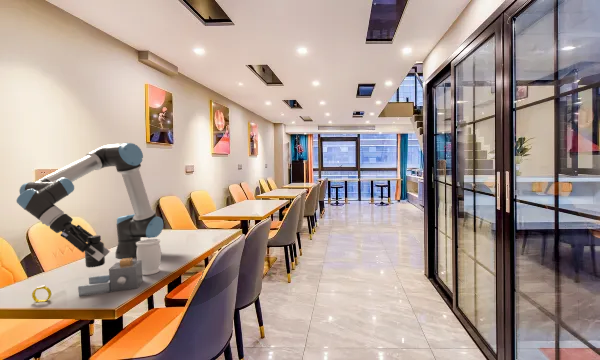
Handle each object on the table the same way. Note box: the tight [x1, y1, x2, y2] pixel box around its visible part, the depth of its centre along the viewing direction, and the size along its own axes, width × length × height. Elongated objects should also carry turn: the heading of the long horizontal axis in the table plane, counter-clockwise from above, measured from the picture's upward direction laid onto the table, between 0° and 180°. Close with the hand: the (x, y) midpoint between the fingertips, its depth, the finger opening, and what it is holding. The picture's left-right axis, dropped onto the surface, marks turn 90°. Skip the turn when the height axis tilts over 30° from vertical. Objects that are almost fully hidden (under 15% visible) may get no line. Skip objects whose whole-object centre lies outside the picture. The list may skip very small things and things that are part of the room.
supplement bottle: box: [84, 234, 106, 268], centre depth 137 cm, size 7×7×12 cm
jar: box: [136, 238, 162, 276], centre depth 157 cm, size 11×10×15 cm
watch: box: [31, 284, 52, 303], centre depth 127 cm, size 6×3×6 cm, turn 98°
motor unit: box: [77, 257, 144, 297], centre depth 138 cm, size 14×21×11 cm, turn 104°
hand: (104, 256), depth 138 cm, fingers closed on supplement bottle, 7 cm apart
